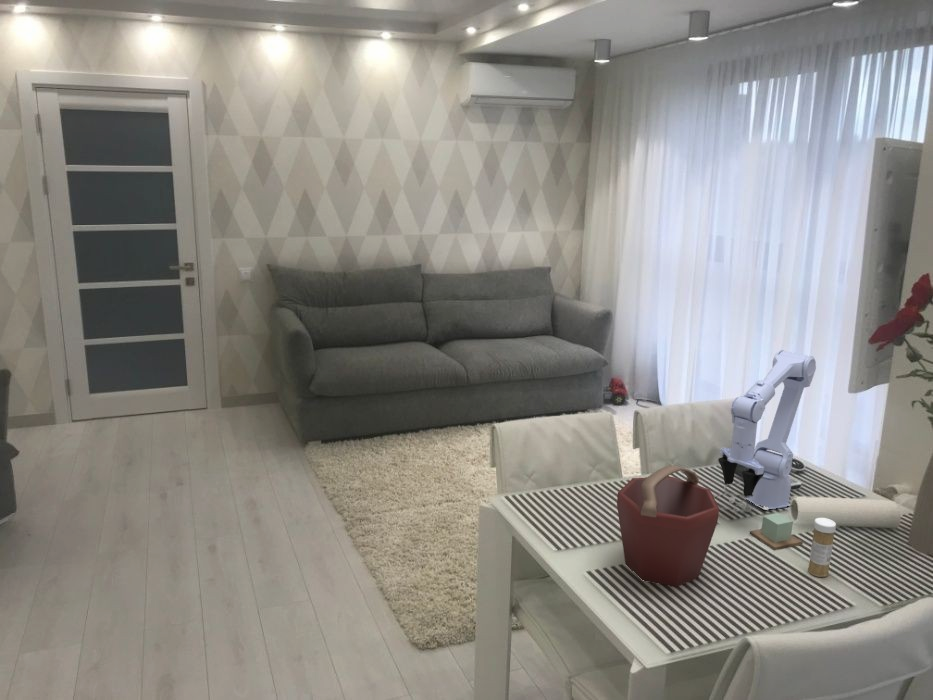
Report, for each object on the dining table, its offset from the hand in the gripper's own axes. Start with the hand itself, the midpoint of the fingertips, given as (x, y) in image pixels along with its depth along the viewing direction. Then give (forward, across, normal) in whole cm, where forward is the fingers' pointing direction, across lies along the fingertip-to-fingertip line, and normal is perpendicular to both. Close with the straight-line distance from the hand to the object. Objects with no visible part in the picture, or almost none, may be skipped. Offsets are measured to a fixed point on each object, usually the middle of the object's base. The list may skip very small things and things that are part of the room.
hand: (738, 489), depth 199 cm
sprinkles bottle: (+10, +28, +1) cm, 30 cm away
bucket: (+10, +13, -33) cm, 37 cm away
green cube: (+9, +12, +3) cm, 15 cm away
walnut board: (+9, +12, +4) cm, 15 cm away
